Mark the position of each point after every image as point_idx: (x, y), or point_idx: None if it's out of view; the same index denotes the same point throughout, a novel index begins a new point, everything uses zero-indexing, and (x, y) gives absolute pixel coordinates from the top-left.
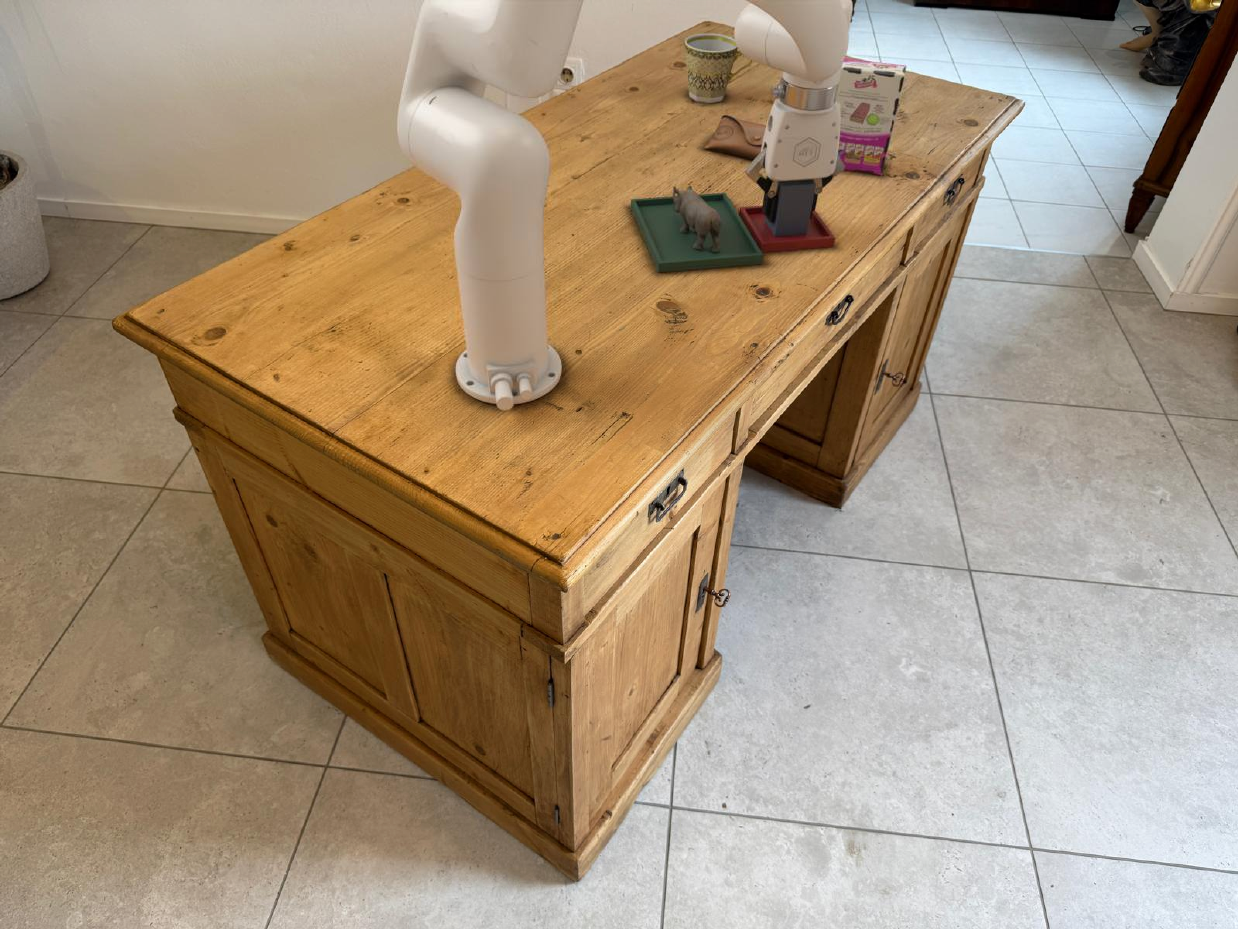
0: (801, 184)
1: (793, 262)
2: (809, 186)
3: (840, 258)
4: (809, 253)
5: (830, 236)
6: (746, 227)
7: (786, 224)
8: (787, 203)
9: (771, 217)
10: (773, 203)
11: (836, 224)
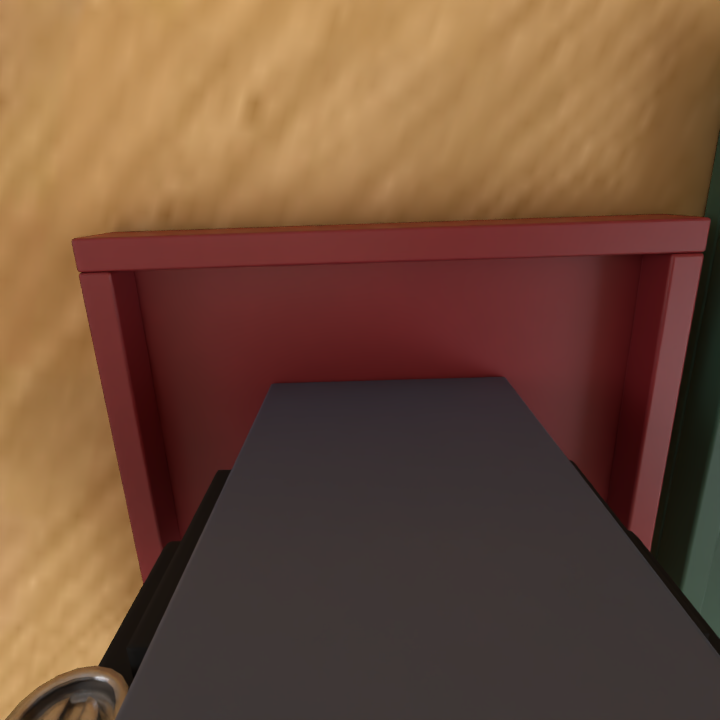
0: None
1: (476, 35)
2: None
3: (86, 50)
4: (310, 161)
5: (107, 265)
6: (710, 464)
7: (449, 415)
8: (535, 539)
9: (587, 481)
10: (664, 579)
11: (39, 504)
